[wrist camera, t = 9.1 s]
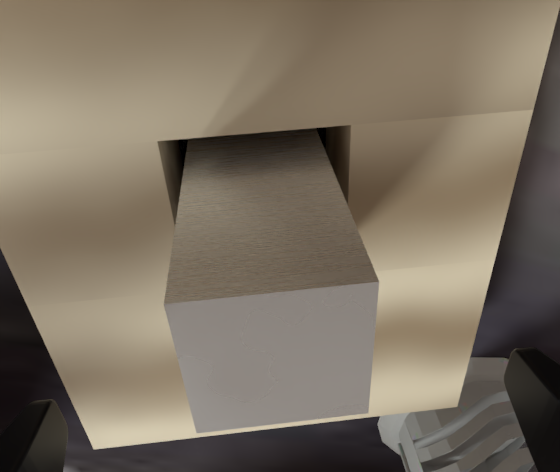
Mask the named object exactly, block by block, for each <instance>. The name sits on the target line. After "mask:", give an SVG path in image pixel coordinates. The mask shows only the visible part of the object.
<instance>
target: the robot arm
mask: <svg viewBox="0 0 560 472" xmlns="http://www.w3.org/2000/svg"><path fill="white" fill-rule="evenodd" d="M504 385H505V388H506V391H507V394H508V396H509V399H510V402H511V404H512V407H513V409H514V412H515V415H516V417H517V420H518V423H519V425H520V428H521V431H522V433H523V436H524V439H525V441H526V444H527V447H528V449H529V452H530V454H531V456H532V459H533V461H534V463H535V465H536V468H537V470H538V472H560V364H559V363H557V362H556V361H555V360H553V359H552V358H550V357H549V356H547V355H546V354H544V353H543V352H542V351H540V350H538V349H537V348H534V347H526V348H517V349H514V350H513V351H512V352H511V355H510V358H509V361H508V364H507V367H506V370H505V373H504ZM67 439H68V427H67V424H66V421H65V419H64V417H63V415H62V413H61V411H60V409H59V407H58V405H57V403H56V402H55V401H54V400H52V399H47V400H38V401H32V402H30V403H29V404H28V405H27V406H26V407H25V408H24V409H23V410H22V411H21V412H20V413H19V414H18V416H17V417H16V418H15V419H14V420H13V421H12V422H11V423H10V424H9V425H8V427H7V428H6V429H5V430H4V431H3V432H2V433H1V434H0V472H63V467H64V460H65V453H66V446H67Z"/></svg>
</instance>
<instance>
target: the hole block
mask: <svg viewBox="0 0 560 472" xmlns="http://www.w3.org/2000/svg"><path fill="white" fill-rule="evenodd" d="M559 8H560V0H0V248H1V250H2V253H3V255H4V257H5V259H6V261H7V263H8V266H9V268H10V270H11V272H12V274H13V276H14V278H15V281H16V283H17V285H18V287H19V289H20V291H21V294H22V296H23V298H24V300H25V302H26V304H27V306H28V309H29V311H30V313H31V315H32V317H33V319H34V322H35V324H36V326H37V328H38V330H39V332H40V334H41V337H42V339H43V341H44V343H45V345H46V347H47V350H48V352H49V354H50V356H51V358H52V360H53V362H54V365H55V367H56V369H57V371H58V373H59V375H60V378H61V380H62V382H63V384H64V386H65V388H66V390H67V393H68V395H69V397H70V399H71V401H72V403H73V406H74V408H75V410H76V412H77V414H78V416H79V418H80V421H81V423H82V425H83V427H84V429H85V431H86V434H87V436H88V438H89V440H90V442H91V444H92V446H93V449H102V448H111V447H119V446H128V445H137V444H145V443H154V442H162V441H171V440H179V439H188V438H196V437H205V436H213V435H222V434H230V433H239V432H248V431H256V430H265V429H273V428H282V427H290V426H299V425H307V424H316V423H324V422H333V421H341V420H350V419H358V418H367V417H376V416H384V415H393V414H401V413H410V412H418V411H427V410H435V409H444V408H452V407H457V406H458V402H459V398H460V394H461V391H462V387H463V383H464V379H465V375H466V371H467V367H468V363H469V359H470V355H471V352H472V348H473V344H474V340H475V336H476V332H477V328H478V324H479V320H480V316H481V313H482V309H483V305H484V301H485V297H486V293H487V289H488V285H489V281H490V277H491V273H492V270H493V266H494V262H495V258H496V254H497V250H498V246H499V242H500V238H501V234H502V231H503V227H504V223H505V219H506V215H507V211H508V207H509V203H510V199H511V195H512V192H513V188H514V184H515V180H516V176H517V172H518V168H519V164H520V160H521V156H522V152H523V149H524V145H525V141H526V137H527V133H528V129H529V125H530V121H531V117H532V113H533V110H534V106H535V102H536V98H537V94H538V90H539V86H540V82H541V78H542V74H543V71H544V67H545V63H546V59H547V55H548V51H549V47H550V43H551V39H552V35H553V32H554V28H555V24H556V20H557V16H558V12H559ZM321 127H326V154H327V156H328V159H329V161H330V164H331V166H332V169H333V171H334V173H335V176H336V178H337V181H338V183H339V185H340V188H341V190H342V193H343V195H344V198H345V200H346V202H347V205H348V207H349V210H350V212H351V215H352V217H353V219H354V222H355V224H356V227H357V229H358V231H359V234H360V236H361V239H362V241H363V244H364V246H365V248H366V251H367V253H368V256H369V258H370V260H371V263H372V265H373V268H374V270H375V273H376V275H377V277H378V280H379V291H378V303H377V315H376V327H375V339H374V351H373V363H372V375H371V387H370V399H369V411H368V413H366V414H358V415H349V416H341V417H332V418H324V419H315V420H307V421H298V422H290V423H281V424H273V425H265V426H256V427H248V428H239V429H231V430H222V431H214V432H205V433H196V429H195V426H194V422H193V418H192V414H191V410H190V406H189V402H188V398H187V394H186V390H185V386H184V382H183V378H182V374H181V370H180V366H179V362H178V359H177V355H176V351H175V347H174V343H173V339H172V335H171V331H170V327H169V323H168V319H167V315H166V311H165V307H164V299H165V292H166V285H167V278H168V272H169V265H170V258H171V251H172V244H173V238H174V231H175V224H176V217H177V211H178V204H179V197H180V190H181V183H182V177H183V164H182V159H181V153H180V147H179V142H178V140H179V139H190V138H202V137H214V136H226V135H238V134H250V133H262V132H274V131H286V130H297V129H309V128H321Z"/></svg>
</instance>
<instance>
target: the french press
mask: <svg viewBox="0 0 560 472" xmlns="http://www.w3.org/2000/svg"><path fill="white" fill-rule="evenodd" d="M508 361H509V359H506V358H488V357H470V359H469V363H468V367H467V371H466V375H465V379H464V383H463V387H462V391H461V394H460V398H459V402H458V406H457V407H452V408H444V409H435V410H427V411H418V412H410V413H401V414H393V415H384V416H380V419H379V421H378V424H377V425H378V428H379V432H380V435H381V439H382V442H383V443H385V444H386V445H387V446H388V447H390V448H391V449H392V450H393V451H395V452H396V453H397V454H399V455H401V458H402V461H403V464H404V467H405V470H406V472H528V471H529V469H530V468H531V467H532V466H533V464H534V461H533V459H532V456H531V454H530V452H529V449H528V447H527V448H523V449H519V448H520V446H521V445H522V444H523V443H524V442H525V439H524V436H523V433H522V431H521V428H520V425H519V423H518V420H517V417H516V415H515V412H514V409H513V407H512V404H511V402H510V399H509V396H508V394H507V391H506V388H505V385H504V373H505V370H506V367H507V364H508ZM518 449H519V450H518Z"/></svg>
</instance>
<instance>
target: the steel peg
mask: <svg viewBox="0 0 560 472" xmlns="http://www.w3.org/2000/svg"><path fill="white" fill-rule="evenodd" d="M378 291H379V280H378V277H377V275H376V273H375V270H374V268H373V265H372V263H371V260H370V258H369V256H368V253H367V251H366V248H365V246H364V244H363V241H362V239H361V236H360V234H359V231H358V229H357V227H356V224H355V222H354V219H353V217H352V215H351V212H350V210H349V207H348V205H347V202H346V200H345V198H344V195H343V193H342V190H341V188H340V185H339V183H338V181H337V178H336V176H335V173H334V171H333V169H332V166H331V164H330V161H329V159H328V156H327V154H326V152H325V149H324V147H323V144H322V142H321V140H320V137H319V135H318V132H317V130H316V128H309V129H297V130H286V131H274V132H262V133H250V134H238V135H226V136H214V137H202V138H190V139H188V143H187V149H186V156H185V163H184V170H183V177H182V183H181V190H180V197H179V204H178V211H177V217H176V224H175V231H174V238H173V244H172V251H171V258H170V265H169V272H168V278H167V285H166V292H165V299H164V307H165V311H166V315H167V319H168V323H169V327H170V331H171V335H172V339H173V343H174V347H175V351H176V355H177V359H178V362H179V366H180V370H181V374H182V378H183V382H184V386H185V390H186V394H187V398H188V402H189V406H190V410H191V414H192V418H193V422H194V426H195V429H196V433H205V432H214V431H222V430H231V429H239V428H248V427H256V426H265V425H273V424H281V423H290V422H298V421H307V420H315V419H324V418H332V417H341V416H349V415H358V414H366V413H368V411H369V399H370V387H371V375H372V363H373V351H374V339H375V327H376V315H377V303H378Z"/></svg>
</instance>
